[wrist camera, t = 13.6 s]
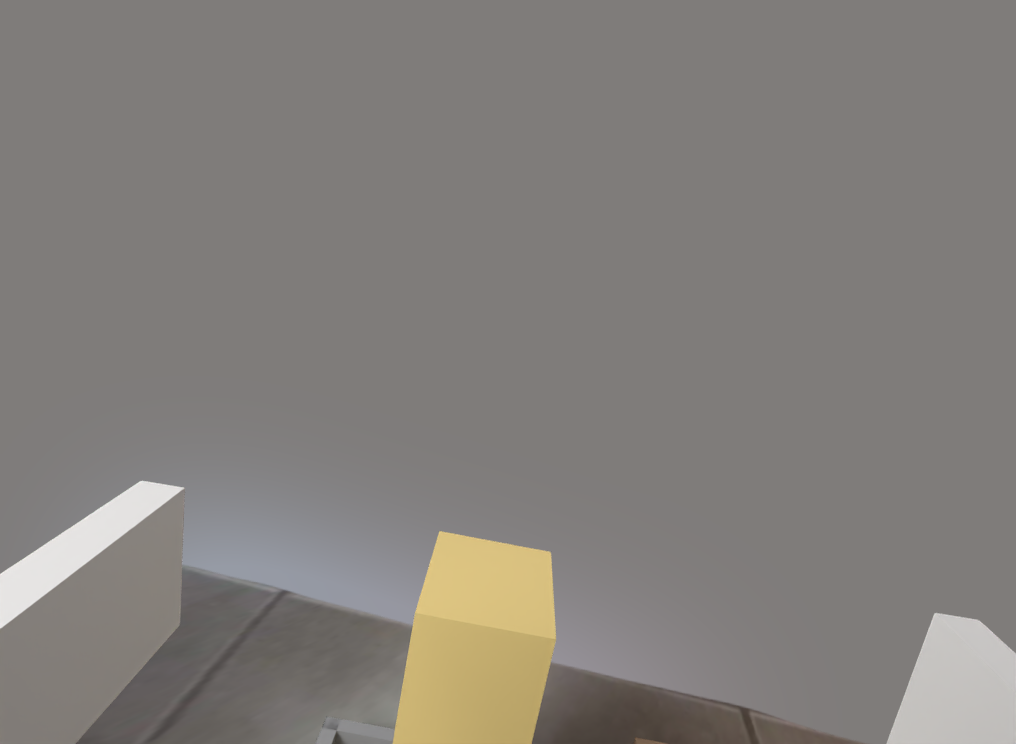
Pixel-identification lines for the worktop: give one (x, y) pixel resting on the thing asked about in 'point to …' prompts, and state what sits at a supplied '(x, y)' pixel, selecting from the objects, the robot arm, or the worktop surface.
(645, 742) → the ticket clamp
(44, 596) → the robot arm
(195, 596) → the worktop surface
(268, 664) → the worktop surface
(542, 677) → the stub
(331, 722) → the tray
